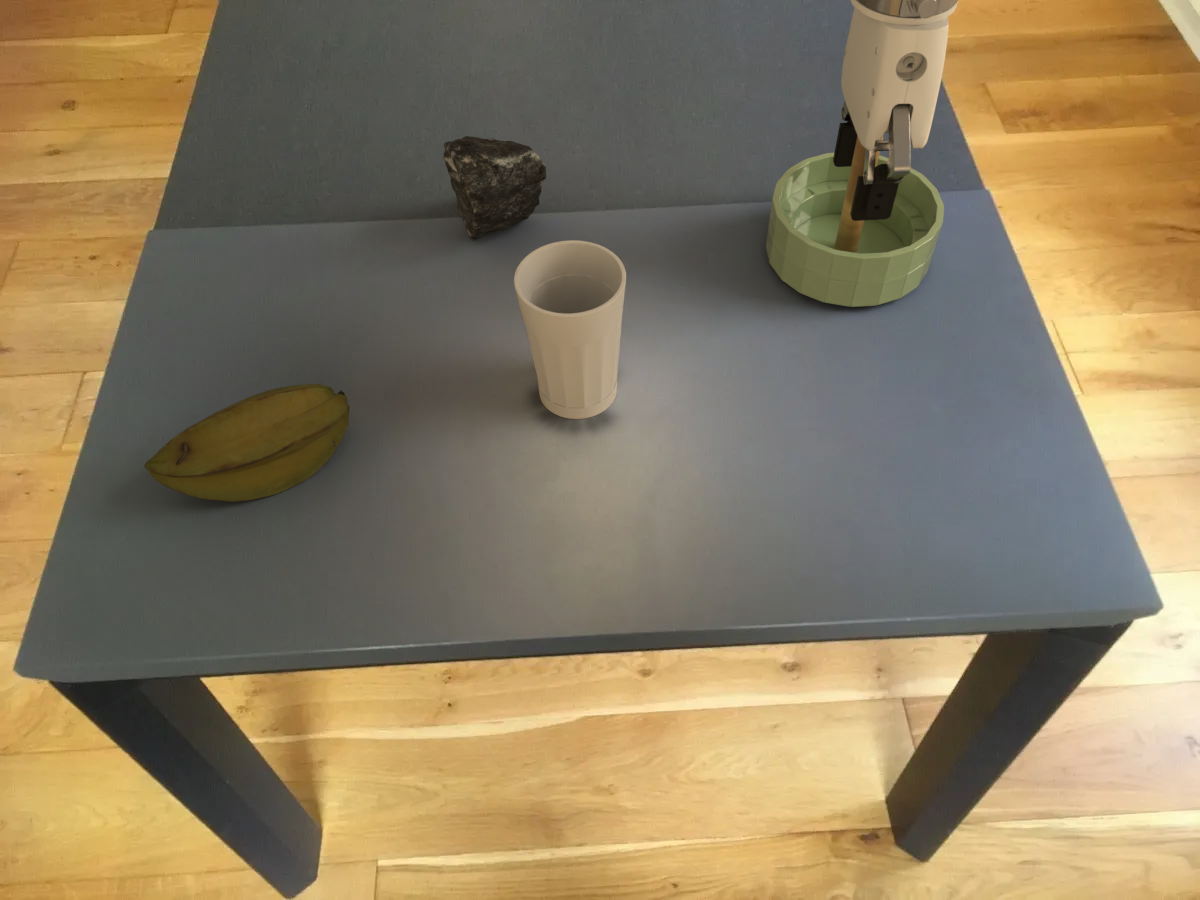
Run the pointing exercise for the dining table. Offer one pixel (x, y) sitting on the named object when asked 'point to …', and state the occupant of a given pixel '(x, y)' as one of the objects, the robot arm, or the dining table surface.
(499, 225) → the rock
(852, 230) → the stick
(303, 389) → the fruit
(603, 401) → the cup
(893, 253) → the bowl
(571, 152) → the dining table surface
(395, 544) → the dining table surface
